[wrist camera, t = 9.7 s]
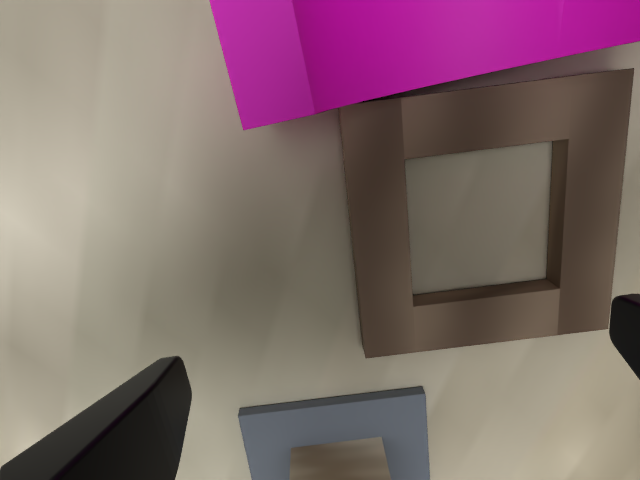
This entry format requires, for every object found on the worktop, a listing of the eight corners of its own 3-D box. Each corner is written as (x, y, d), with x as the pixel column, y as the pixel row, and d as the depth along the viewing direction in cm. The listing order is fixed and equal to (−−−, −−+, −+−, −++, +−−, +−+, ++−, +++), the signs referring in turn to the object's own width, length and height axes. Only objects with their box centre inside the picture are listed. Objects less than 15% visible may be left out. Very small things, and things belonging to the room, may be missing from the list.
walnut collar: (613, 70, 18) (634, 68, 17) (592, 317, 22) (607, 328, 21) (337, 105, 18) (340, 105, 17) (362, 345, 22) (365, 358, 21)
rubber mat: (422, 386, 23) (425, 393, 22) (429, 522, 26) (432, 532, 25) (239, 408, 23) (238, 416, 22) (268, 541, 26) (267, 551, 26)
